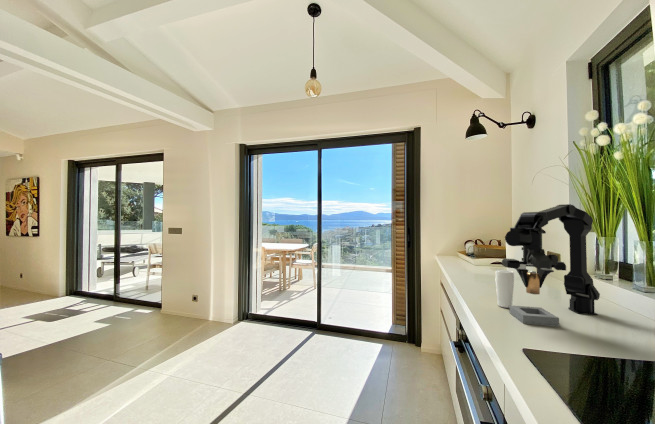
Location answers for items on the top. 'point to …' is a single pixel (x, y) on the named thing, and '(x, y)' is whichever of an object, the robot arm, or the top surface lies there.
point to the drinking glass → (504, 287)
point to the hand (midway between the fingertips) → (532, 287)
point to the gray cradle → (534, 316)
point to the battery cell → (533, 283)
